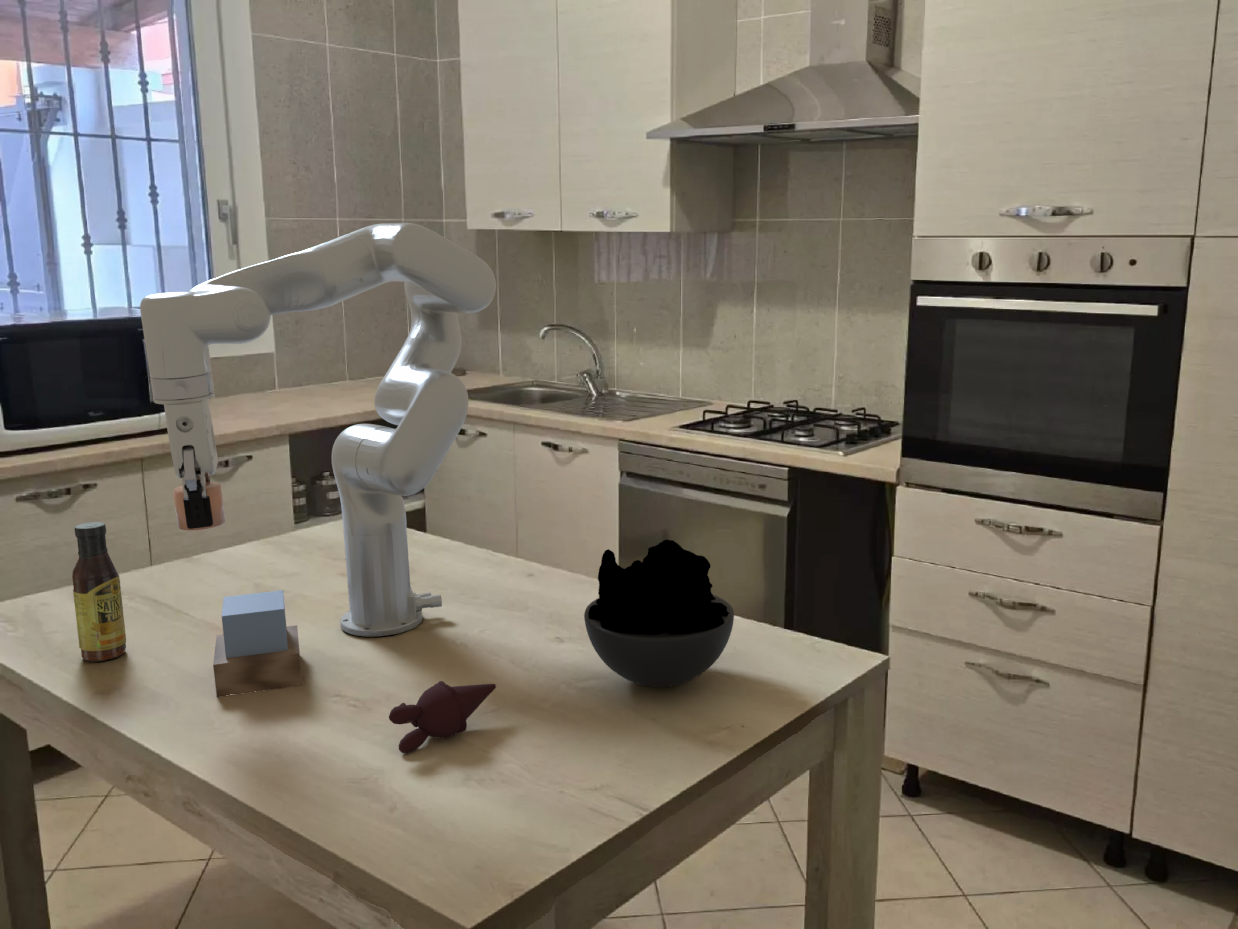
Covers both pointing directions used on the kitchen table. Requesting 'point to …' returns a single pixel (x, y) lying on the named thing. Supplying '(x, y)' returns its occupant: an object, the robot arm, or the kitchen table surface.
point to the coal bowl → (658, 617)
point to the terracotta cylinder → (215, 501)
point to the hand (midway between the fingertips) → (201, 518)
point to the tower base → (257, 668)
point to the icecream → (439, 712)
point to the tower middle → (254, 624)
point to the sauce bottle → (97, 597)
